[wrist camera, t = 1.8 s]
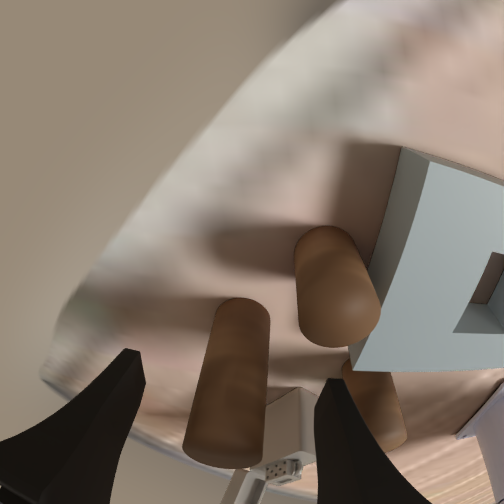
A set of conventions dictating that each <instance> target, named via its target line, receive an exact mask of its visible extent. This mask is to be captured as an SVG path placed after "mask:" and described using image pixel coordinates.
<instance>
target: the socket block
mask: <svg viewBox="0 0 504 504" xmlns="http://www.w3.org/2000/svg"><path fill="white" fill-rule="evenodd" d="M492 252H496V253H500V254H504V181H503V180H501V179H498V178H496V177H493V176H490V175H488V174H485V173H483V172H480V171H477V170H475V169H472V168H469V167H466V166H463V165H461V164H458V163H455V162H452V161H449V160H446V159H443V158H439V157H436V156H433V155H430V154H427V153H423V152H420V151H416V150H413V149H409V148H406V147H402V148H401V152H400V157H399V161H398V165H397V169H396V174H395V178H394V182H393V186H392V189H391V193H390V197H389V201H388V205H387V208H386V212H385V215H384V219H383V222H382V226H381V229H380V232H379V236H378V239H377V242H376V246H375V249H374V252H373V255H372V258H371V261H370V264H369V267H368V270H367V273H368V275H369V277H370V280H371V282H372V284H373V287H374V289H375V292H376V294H377V297H378V299H379V302H380V305H381V315H380V319H379V321H378V323H377V325H376V327H375V328H374V330H373V331H372V332H371V333H370V334H369V335H368V336H366V337H365V338H364V339H362V340H360V341H359V342H357V343H354V344H352V345H349V346H348V350H349V355H350V360H351V365H352V370H354V371H381V372H440V371H465V370H482V369H494V368H504V271H503V273H502V276H501V278H500V280H499V282H498V284H497V286H496V288H495V290H494V292H493V294H492V296H491V298H490V300H489V302H488V304H477V303H469V301H470V299H471V297H472V295H473V293H474V291H475V289H476V287H477V285H478V283H479V280H480V278H481V276H482V274H483V272H484V270H485V267H486V265H487V263H488V260H489V258H490V256H491V253H492Z"/></svg>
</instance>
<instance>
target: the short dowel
mask: <svg viewBox="0 0 504 504" xmlns="http://www.w3.org/2000/svg"><path fill="white" fill-rule="evenodd" d="M294 264H295V277H296V290H297V305H298V320H299V327H300V330H301V332H302V333H303V335H304V336H305V337H306V338H307V339H308V340H310V341H311V342H313V343H315V344H317V345H319V346H323V347H329V348H338V347H345V346H349V345H352V344H354V343H357V342H359V341H360V340H362V339H364V338H365V337H366V336H368V335H369V334H370V333H371V332H372V331H373V330H374V328H375V327H376V325H377V323H378V321H379V319H380V315H381V305H380V302H379V299H378V297H377V294H376V292H375V289H374V287H373V284H372V282H371V280H370V277H369V275H368V273H367V270H366V268H365V266H364V263H363V261H362V259H361V257H360V254H359V252H358V250H357V248H356V245H355V243H354V241H353V239H352V238H351V236H350V235H349V234H348V233H347V232H345V231H344V230H342V229H340V228H337V227H333V226H321V227H317V228H314V229H312V230H310V231H308V232H307V233H305V234H304V235H303V236H302V237H301V238H300V240H299V241H298V243H297V245H296V247H295V251H294Z"/></svg>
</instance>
